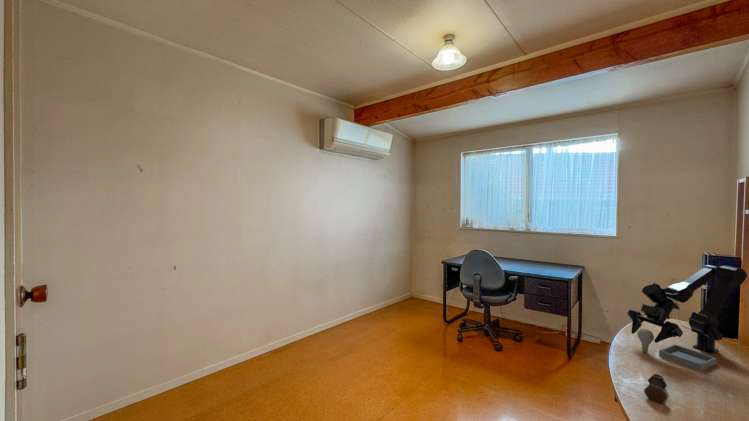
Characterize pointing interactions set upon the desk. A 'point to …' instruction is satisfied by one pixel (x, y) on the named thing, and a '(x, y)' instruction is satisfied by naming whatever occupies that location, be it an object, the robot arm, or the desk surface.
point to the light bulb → (645, 338)
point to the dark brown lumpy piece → (656, 389)
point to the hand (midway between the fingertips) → (643, 337)
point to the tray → (687, 357)
